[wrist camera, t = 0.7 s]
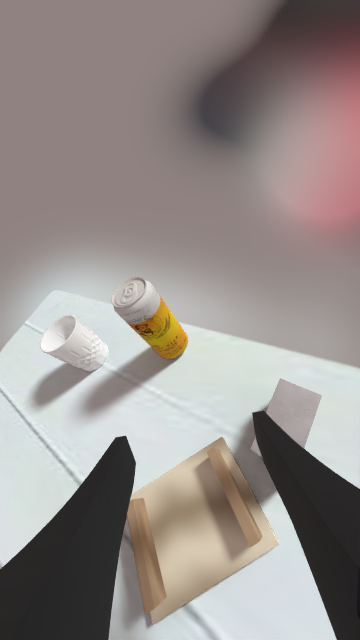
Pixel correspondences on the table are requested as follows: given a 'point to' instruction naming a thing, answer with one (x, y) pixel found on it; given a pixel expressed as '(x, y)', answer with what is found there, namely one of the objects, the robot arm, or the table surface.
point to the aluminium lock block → (292, 411)
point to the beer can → (149, 317)
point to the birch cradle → (195, 529)
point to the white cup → (74, 344)
